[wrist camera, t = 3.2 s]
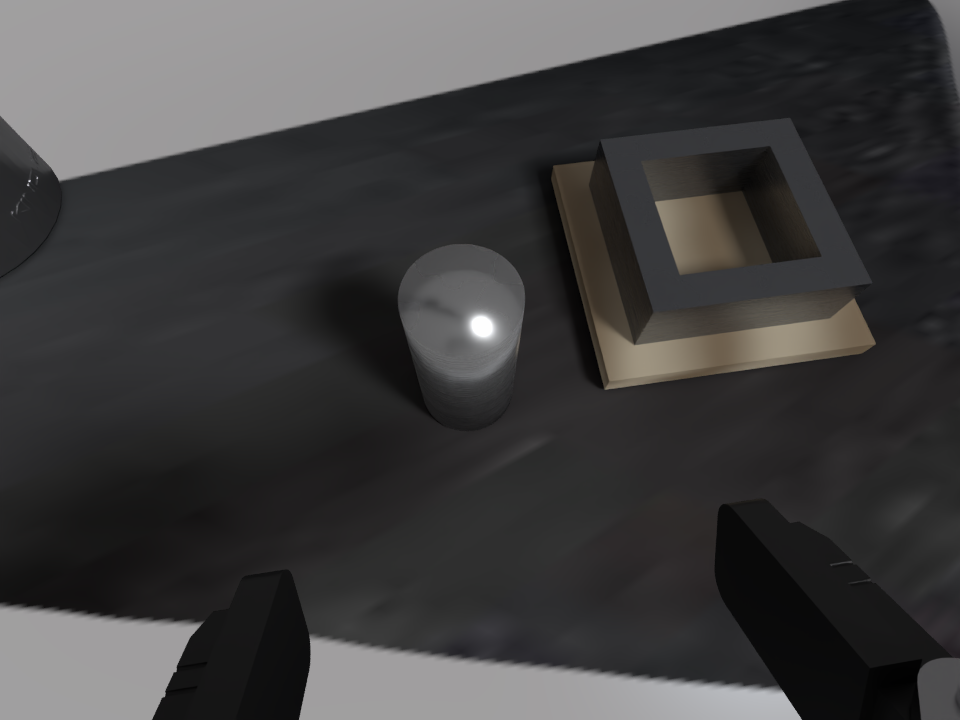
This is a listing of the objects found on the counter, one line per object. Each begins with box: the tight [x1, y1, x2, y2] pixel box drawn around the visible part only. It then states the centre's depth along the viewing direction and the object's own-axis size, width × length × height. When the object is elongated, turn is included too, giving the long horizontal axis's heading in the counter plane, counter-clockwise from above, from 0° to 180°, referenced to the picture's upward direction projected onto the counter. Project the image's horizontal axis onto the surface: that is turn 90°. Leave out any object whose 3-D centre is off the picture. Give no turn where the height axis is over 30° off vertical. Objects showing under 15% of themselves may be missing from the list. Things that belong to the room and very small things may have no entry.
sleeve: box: [589, 118, 872, 345], centre depth 25 cm, size 9×9×3 cm
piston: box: [398, 244, 525, 431], centre depth 21 cm, size 4×4×8 cm
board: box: [551, 161, 876, 390], centre depth 27 cm, size 12×12×1 cm
